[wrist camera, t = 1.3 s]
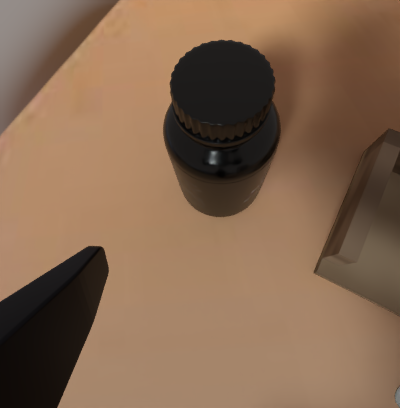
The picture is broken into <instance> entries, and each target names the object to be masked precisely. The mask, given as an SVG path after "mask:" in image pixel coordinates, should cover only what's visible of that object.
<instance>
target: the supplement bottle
mask: <svg viewBox="0 0 400 408" xmlns="http://www.w3.org/2000/svg"><path fill="white" fill-rule="evenodd" d="M274 84H275V77H274V76H273V69H272V68H271V67H270V62H268V61H267V60H266V59H265V56H264V55H262V54H260V53H259V51H258V50H257V49H254V48H252V47H251V46H250V45H246V44H243V43H242V42H235V41H232V40H228V41H225V40H219V41H210V42H208V43H202V44H201V45H200V46H198V47H194V48H193V49H192V50H191V51H189V52H187V53H186V54H185V56H184V57H182V58H180V60H179V63H178V64H176V65H175V68H174V71H173V72H172V74H171V81H170V89H171V91H170V94H171V98H172V102H171V104H170V106H169V108H168V110H167V112H166V115H165V119H164V125H163V136H164V141H165V146H166V149H167V152H168V154H169V157H170V160H171V163H172V165H173V168H174V171H175V174H176V176H177V179H178V182H179V185H180V187H181V190H182V192H183V194H184V196H185V198H186V199H187V201H188V202H189V203H190V204H191V205H192V206H193V207H194V208H195V209H196V210H198V211H200V212H201V213H204V214H206V215H209V216H214V217H226V216H231V215H235V214H237V213H239V212H241V211H243V210H244V209H246V208H247V207H248V206H249V205H250V204H251V203H252V202H253V201H254V199H255V198H256V196H257V194H258V192H259V190H260V188H261V186H262V183H263V181H264V178H265V176H266V174H267V171H268V169H269V166H270V164H271V161H272V159H273V157H274V154H275V152H276V149H277V146H278V143H279V139H280V133H281V123H280V117H279V114H278V111H277V108H276V106H275V104H274V102H273V101H272V99H273V95H274V92H275V86H274Z"/></svg>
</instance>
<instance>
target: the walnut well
mask: <svg viewBox="0 0 400 408" xmlns="http://www.w3.org/2000/svg"><path fill="white" fill-rule="evenodd" d="M314 273H315V274H317V275H319V276H321V277H323V278H325V279H327V280H329V281H331V282H333V283H335V284H337V285H339V286H341V287H343V288H345V289H347V290H349V291H351V292H353V293H355V294H356V295H358V296H360V297H362V298H364V299H366V300H368V301H370V302H372V303H374V304H376V305H378V306H380V307H382V308H384V309H386V310H388V311H390V312H392V313H394V314H396V315H398V316H400V132H397V131H395V130H392V129H388V130H387V131H386V132H385V133H384V134H382V135H381V136H380V137H379V138H378V139H377V140H376V141H375V142H374V143H373V144H372V145H371V146H370V147H368V148H367V149H366V150H365V151H364V153H363V156H362V158H361V161H360V163H359V165H358V168H357V170H356V173H355V175H354V177H353V180H352V182H351V185H350V187H349V189H348V192H347V194H346V197H345V199H344V201H343V204H342V206H341V209H340V211H339V213H338V216H337V218H336V221H335V223H334V225H333V228H332V230H331V233H330V235H329V237H328V240H327V242H326V245H325V247H324V249H323V252H322V254H321V257H320V259H319V261H318V264H317V266H316V269H315V271H314Z"/></svg>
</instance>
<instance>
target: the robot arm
mask: <svg viewBox="0 0 400 408" xmlns="http://www.w3.org/2000/svg"><path fill="white" fill-rule="evenodd" d="M108 272H109V267H108V263H107V259H106V255H105V251H104V249H103V247H101V246H88V247H86V248H85V249H83V250H81V251H80V252H78V253H77V254H75V255H74V256H72V257H70V258H69V259H67V260H66V261H64V262H62V263H61V264H59V265H58V266H56V267H55V268H53V269H51V270H50V271H48V272H47V273H45V274H43V275H42V276H40V277H39V278H37V279H36V280H34V281H32V282H31V283H29V284H28V285H26V286H24V287H23V288H21V289H20V290H18V291H17V292H15V293H13V294H12V295H10V296H9V297H7V298H5V299H4V300H2V301H1V302H0V408H57V407H58V405H59V402H60V400H61V398H62V395H63V393H64V391H65V388H66V386H67V384H68V381H69V379H70V376H71V374H72V372H73V369H74V367H75V365H76V362H77V360H78V358H79V355H80V353H81V351H82V348H83V346H84V344H85V341H86V339H87V336H88V334H89V332H90V329H91V327H92V324H93V322H94V319H95V316H96V313H97V309H98V306H99V303H100V300H101V296H102V293H103V290H104V286H105V283H106V280H107V276H108Z"/></svg>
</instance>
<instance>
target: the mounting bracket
mask: <svg viewBox="0 0 400 408" xmlns="http://www.w3.org/2000/svg"><path fill="white" fill-rule="evenodd" d="M395 402H396V403H397V404H398V406H399V407H400V386H399V387H398V388H397V390H396V393H395Z"/></svg>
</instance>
